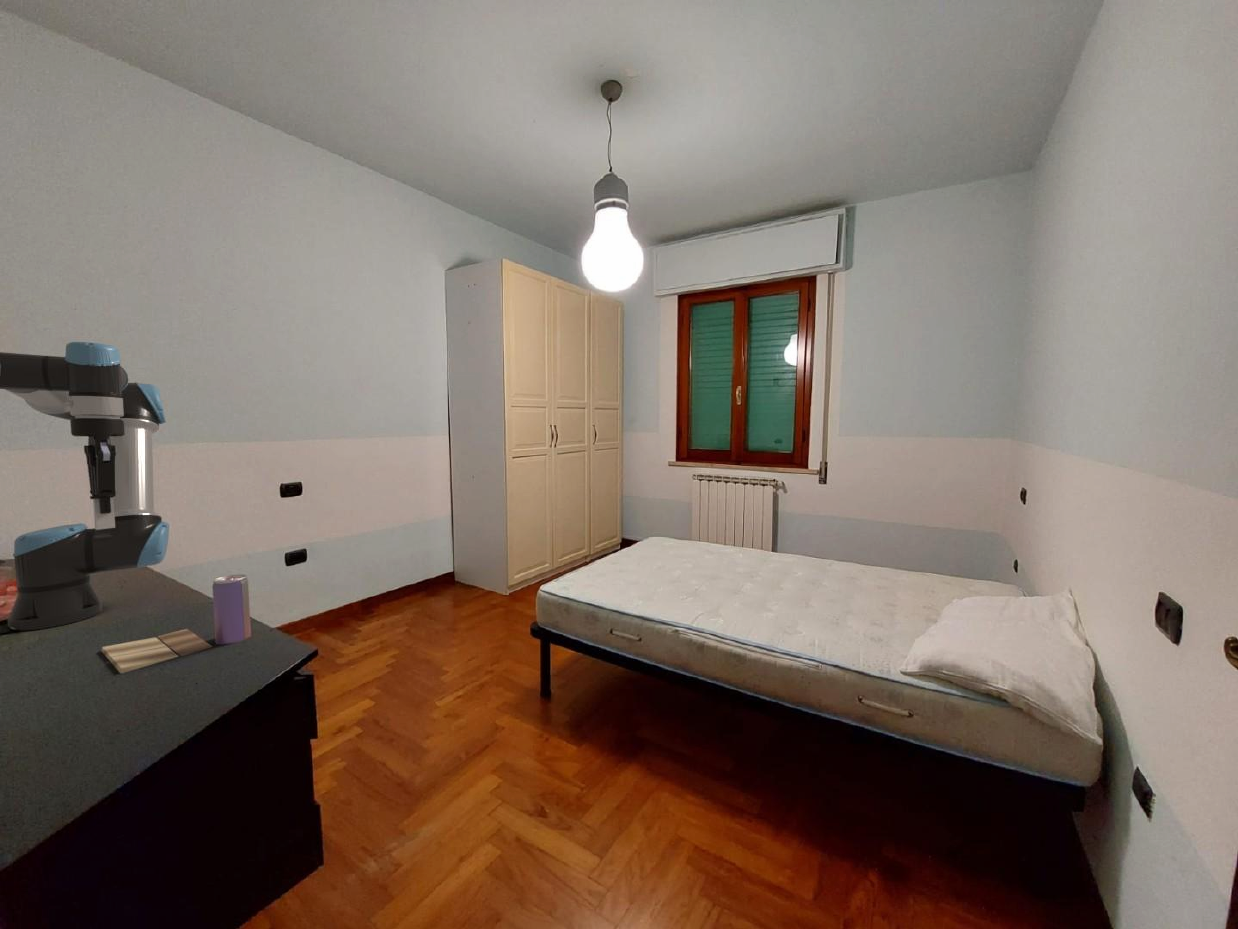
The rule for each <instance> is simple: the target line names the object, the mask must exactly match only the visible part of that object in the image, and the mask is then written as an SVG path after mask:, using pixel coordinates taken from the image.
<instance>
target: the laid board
mask: <svg viewBox="0 0 1238 929" xmlns="http://www.w3.org/2000/svg"><path fill="white" fill-rule="evenodd" d="M156 638H157V639H158V640H160V641H161V642H162V643H163V644H165V645H166V646H167V647H168V648H169V649H171V650H172V651H173V652H174V653H175V654H177V655H178V656H180V657H183V656H187V655H189V654H193V653H196V652H200V651H203V650H207V649H210V648H213V646H212V645H211V644H209V643H208V642H207V641H205V640H204V639H202V638H201V637H199V636H198V635H197V634H196V633H194V632H193V631H191V630H190V629H189V628H185V629H180V630H177V631H172V632H169V633H164V634H162V635H161V634H160V635H157V637H156Z"/></svg>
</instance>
